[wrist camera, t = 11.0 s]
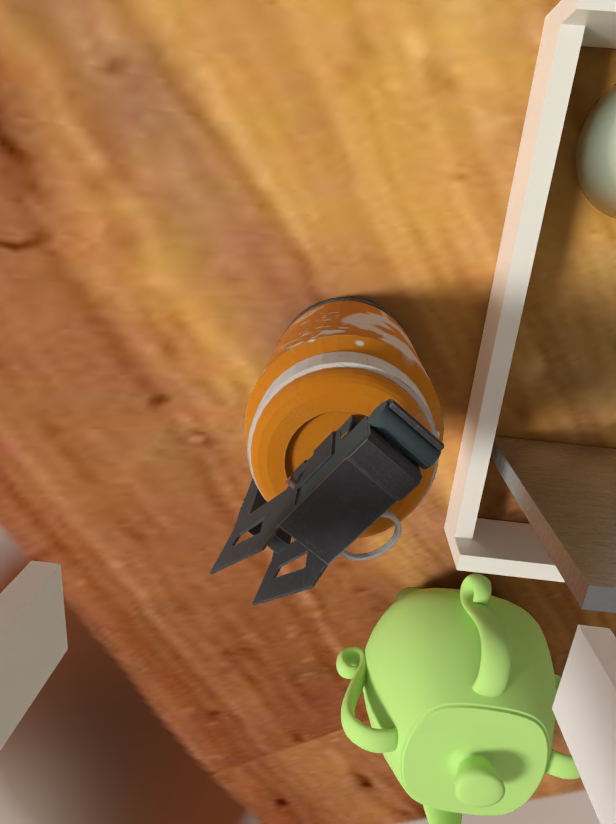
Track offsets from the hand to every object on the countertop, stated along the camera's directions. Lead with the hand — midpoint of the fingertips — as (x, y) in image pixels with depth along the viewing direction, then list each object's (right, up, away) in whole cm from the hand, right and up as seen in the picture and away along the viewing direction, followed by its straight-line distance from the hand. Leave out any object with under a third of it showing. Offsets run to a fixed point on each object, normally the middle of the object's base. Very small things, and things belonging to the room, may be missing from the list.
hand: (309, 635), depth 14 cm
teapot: (+11, -13, +30) cm, 35 cm away
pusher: (+18, +2, +23) cm, 29 cm away
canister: (+2, +8, +23) cm, 24 cm away
